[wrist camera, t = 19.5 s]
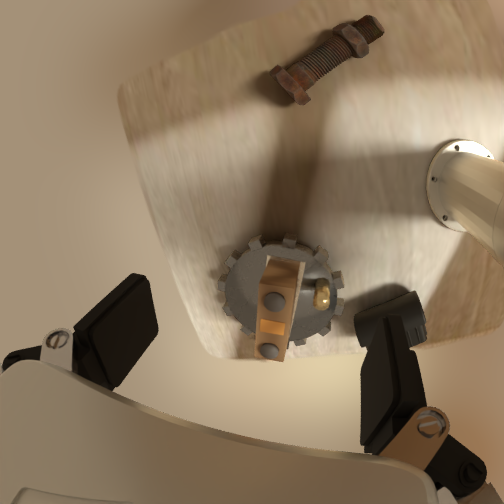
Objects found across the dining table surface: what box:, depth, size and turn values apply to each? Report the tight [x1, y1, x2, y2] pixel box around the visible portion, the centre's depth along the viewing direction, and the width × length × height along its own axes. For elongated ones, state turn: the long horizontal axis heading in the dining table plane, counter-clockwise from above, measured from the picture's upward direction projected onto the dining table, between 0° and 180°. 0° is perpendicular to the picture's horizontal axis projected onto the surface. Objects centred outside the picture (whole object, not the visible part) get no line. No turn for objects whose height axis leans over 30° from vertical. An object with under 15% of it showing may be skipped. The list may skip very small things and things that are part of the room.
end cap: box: [354, 291, 427, 351], centre depth 37 cm, size 10×7×7 cm
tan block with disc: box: [254, 259, 300, 362], centre depth 37 cm, size 4×12×7 cm, turn 177°
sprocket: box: [218, 233, 344, 346], centre depth 39 cm, size 18×18×6 cm
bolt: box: [270, 15, 384, 105], centre depth 26 cm, size 6×5×15 cm
